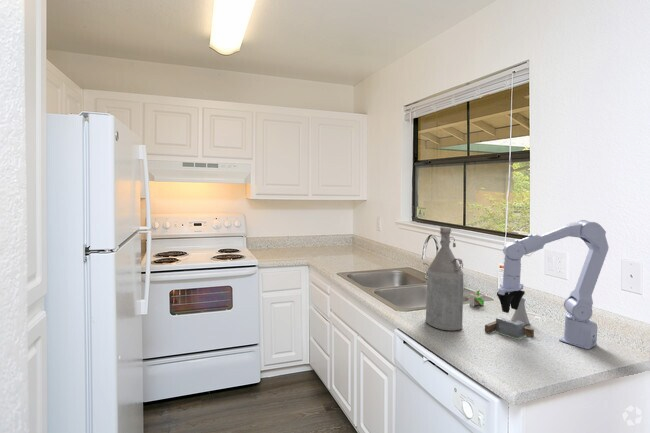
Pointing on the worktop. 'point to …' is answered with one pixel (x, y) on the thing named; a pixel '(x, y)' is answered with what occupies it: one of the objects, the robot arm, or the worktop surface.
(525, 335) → the pad
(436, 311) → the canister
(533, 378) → the worktop surface
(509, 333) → the bracket
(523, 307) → the flask
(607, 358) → the worktop surface
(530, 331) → the grey and brown piece
